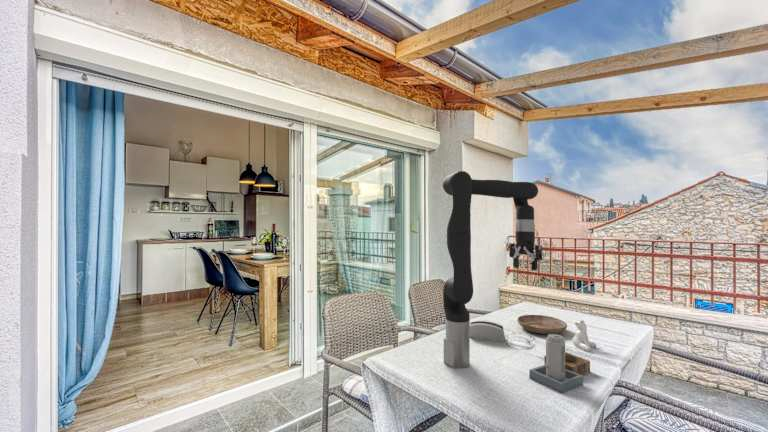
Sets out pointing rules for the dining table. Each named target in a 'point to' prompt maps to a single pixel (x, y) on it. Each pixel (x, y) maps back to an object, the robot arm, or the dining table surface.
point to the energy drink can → (555, 357)
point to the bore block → (575, 364)
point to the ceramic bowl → (542, 324)
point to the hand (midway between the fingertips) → (525, 269)
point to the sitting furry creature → (582, 337)
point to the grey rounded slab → (487, 330)
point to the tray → (569, 383)
